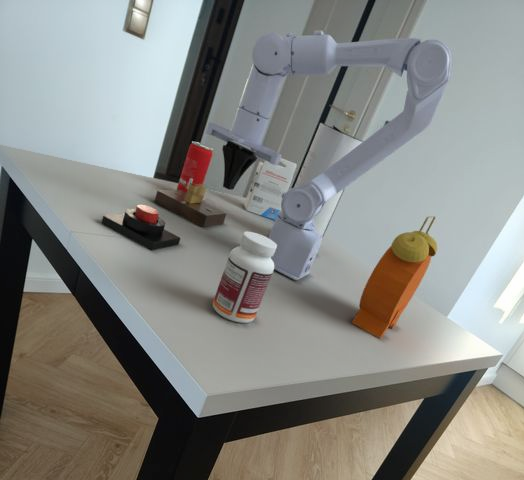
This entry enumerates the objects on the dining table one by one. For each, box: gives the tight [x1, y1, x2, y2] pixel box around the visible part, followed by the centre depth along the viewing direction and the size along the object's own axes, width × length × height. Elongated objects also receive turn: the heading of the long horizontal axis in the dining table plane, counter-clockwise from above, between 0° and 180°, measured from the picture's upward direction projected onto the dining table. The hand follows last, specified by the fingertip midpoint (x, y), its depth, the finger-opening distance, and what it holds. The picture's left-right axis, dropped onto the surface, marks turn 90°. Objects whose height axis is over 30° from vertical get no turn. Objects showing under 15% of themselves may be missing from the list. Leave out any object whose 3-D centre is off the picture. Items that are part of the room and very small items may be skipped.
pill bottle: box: [212, 231, 277, 324], centre depth 68 cm, size 6×6×11 cm
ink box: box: [243, 157, 298, 221], centre depth 128 cm, size 8×5×15 cm, turn 99°
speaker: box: [293, 122, 364, 238], centre depth 110 cm, size 11×10×26 cm
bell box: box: [101, 208, 181, 251], centre depth 83 cm, size 10×8×3 cm
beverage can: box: [176, 140, 214, 193], centre depth 113 cm, size 5×5×12 cm
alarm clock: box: [351, 215, 438, 339], centre depth 84 cm, size 13×6×20 cm, turn 150°
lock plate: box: [153, 189, 227, 228], centre depth 105 cm, size 12×9×3 cm
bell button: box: [134, 204, 160, 223], centre depth 82 cm, size 4×4×2 cm
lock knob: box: [184, 183, 208, 204], centre depth 104 cm, size 5×1×4 cm, turn 156°
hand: (228, 188), depth 95 cm, fingers closed
